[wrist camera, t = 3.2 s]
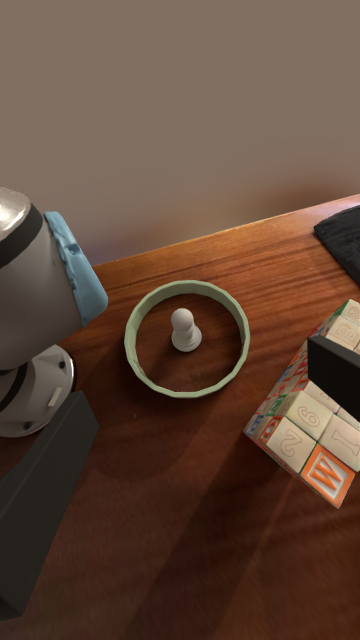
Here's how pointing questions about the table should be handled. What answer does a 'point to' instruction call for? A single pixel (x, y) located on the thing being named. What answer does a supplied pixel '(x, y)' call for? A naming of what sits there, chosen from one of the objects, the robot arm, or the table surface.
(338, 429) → the stack of blocks
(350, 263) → the black pouch
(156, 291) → the green faceted ring
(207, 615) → the table surface
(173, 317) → the chess piece
